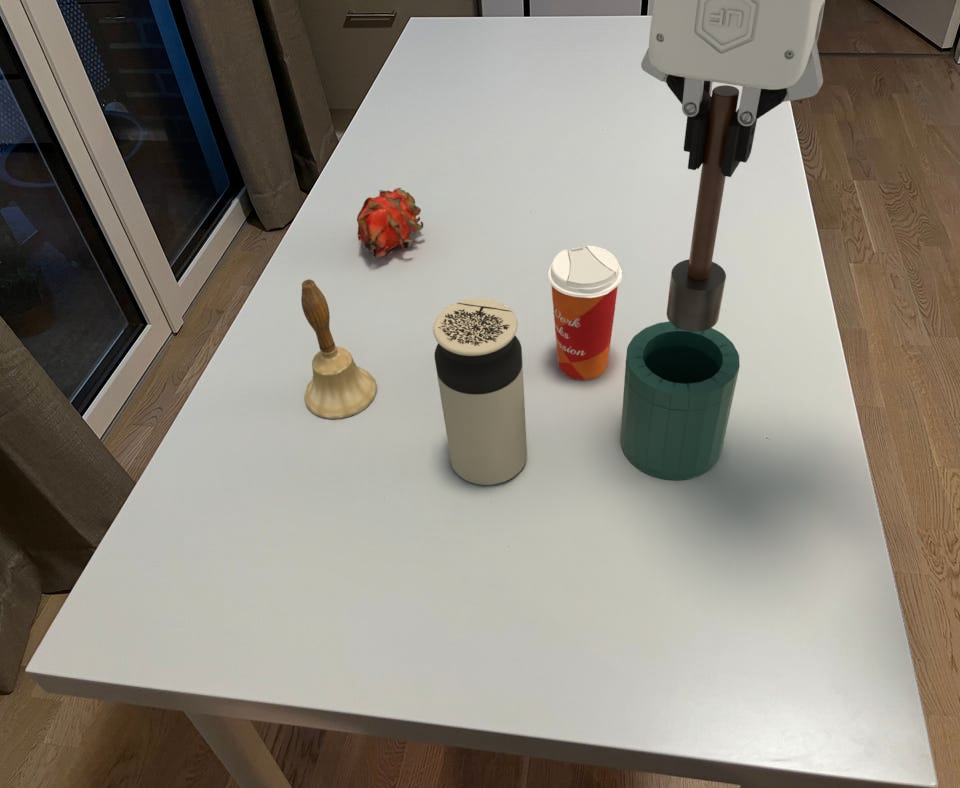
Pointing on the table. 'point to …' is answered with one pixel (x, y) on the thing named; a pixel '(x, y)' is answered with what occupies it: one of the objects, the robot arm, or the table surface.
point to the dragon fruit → (388, 221)
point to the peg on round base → (704, 229)
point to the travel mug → (481, 389)
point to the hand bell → (333, 366)
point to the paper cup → (584, 308)
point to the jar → (677, 400)
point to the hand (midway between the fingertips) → (715, 162)
